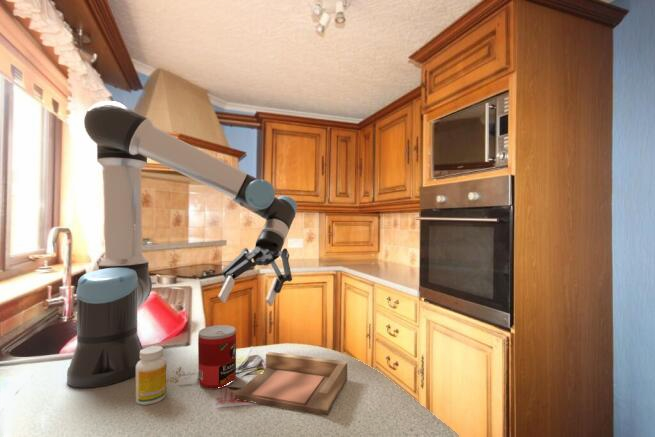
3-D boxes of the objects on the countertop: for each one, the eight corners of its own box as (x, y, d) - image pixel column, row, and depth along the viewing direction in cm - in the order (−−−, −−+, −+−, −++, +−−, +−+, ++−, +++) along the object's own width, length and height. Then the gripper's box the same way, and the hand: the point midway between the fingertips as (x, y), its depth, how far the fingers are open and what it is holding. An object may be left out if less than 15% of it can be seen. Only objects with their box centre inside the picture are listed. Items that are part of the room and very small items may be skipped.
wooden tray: (234, 399, 64) (234, 378, 64) (269, 368, 77) (269, 351, 77) (327, 416, 58) (326, 393, 58) (347, 380, 71) (347, 361, 71)
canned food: (225, 391, 67) (225, 337, 67) (190, 387, 69) (190, 334, 69) (242, 374, 75) (242, 325, 75) (210, 371, 76) (210, 323, 76)
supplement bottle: (130, 400, 64) (130, 350, 64) (157, 388, 68) (157, 342, 69) (144, 409, 61) (144, 357, 61) (171, 396, 65) (171, 347, 65)
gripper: (315, 246, 95) (294, 312, 81) (240, 246, 103) (209, 305, 88) (308, 229, 90) (285, 295, 76) (230, 229, 98) (196, 290, 83)
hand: (244, 301), depth 82 cm, fingers open, 13 cm apart
